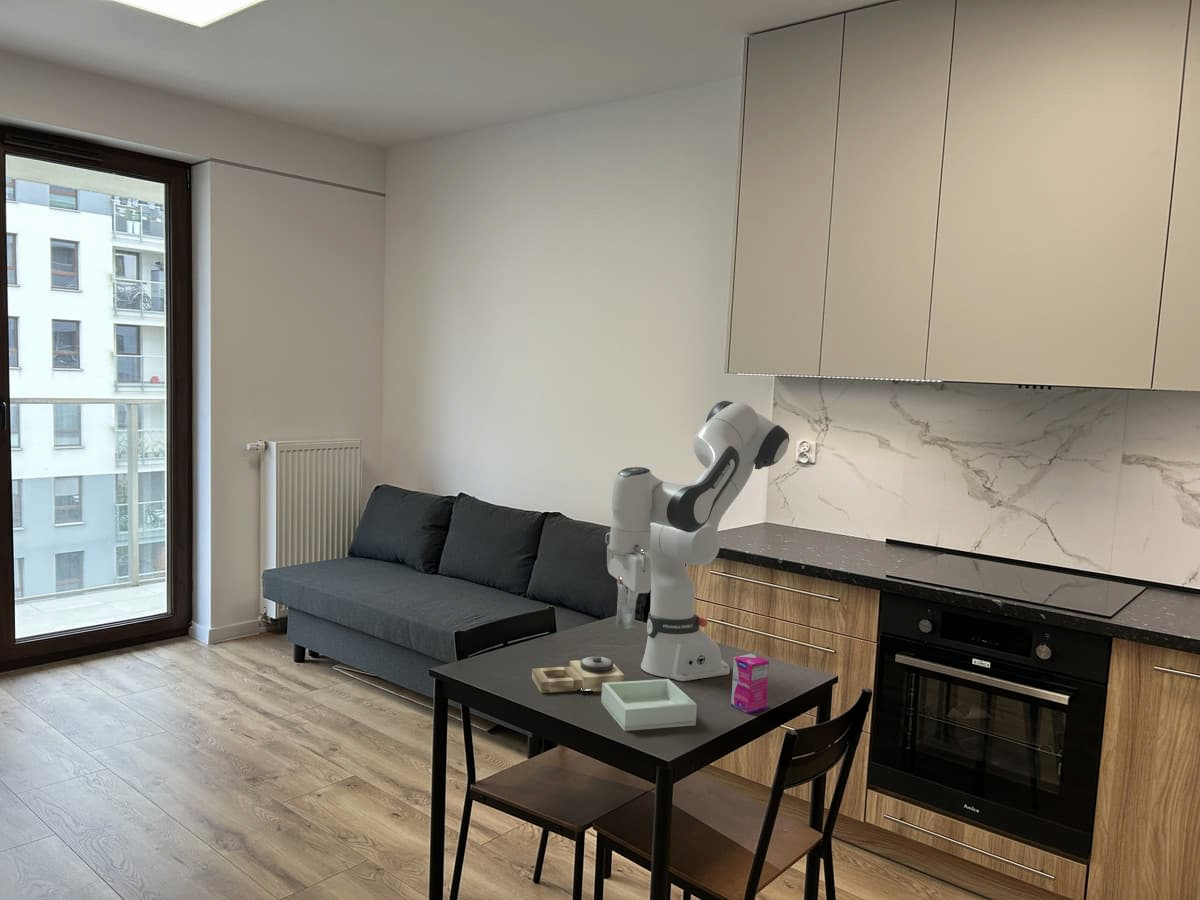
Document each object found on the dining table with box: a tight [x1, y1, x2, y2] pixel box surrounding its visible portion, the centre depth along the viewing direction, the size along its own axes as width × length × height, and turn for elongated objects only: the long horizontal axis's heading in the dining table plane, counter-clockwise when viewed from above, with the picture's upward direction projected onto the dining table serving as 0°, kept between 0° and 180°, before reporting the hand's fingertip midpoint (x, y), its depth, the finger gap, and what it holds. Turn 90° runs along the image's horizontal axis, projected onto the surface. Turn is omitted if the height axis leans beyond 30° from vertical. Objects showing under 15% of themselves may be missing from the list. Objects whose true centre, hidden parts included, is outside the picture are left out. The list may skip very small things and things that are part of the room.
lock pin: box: [615, 576, 636, 630], centre depth 192 cm, size 4×4×11 cm
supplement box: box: [730, 653, 770, 715], centre depth 196 cm, size 6×6×12 cm
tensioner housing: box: [531, 656, 626, 694], centre depth 207 cm, size 20×12×6 cm, turn 107°
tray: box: [600, 678, 698, 732], centre depth 190 cm, size 16×16×4 cm
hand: (627, 603), depth 192 cm, fingers closed on lock pin, 4 cm apart
